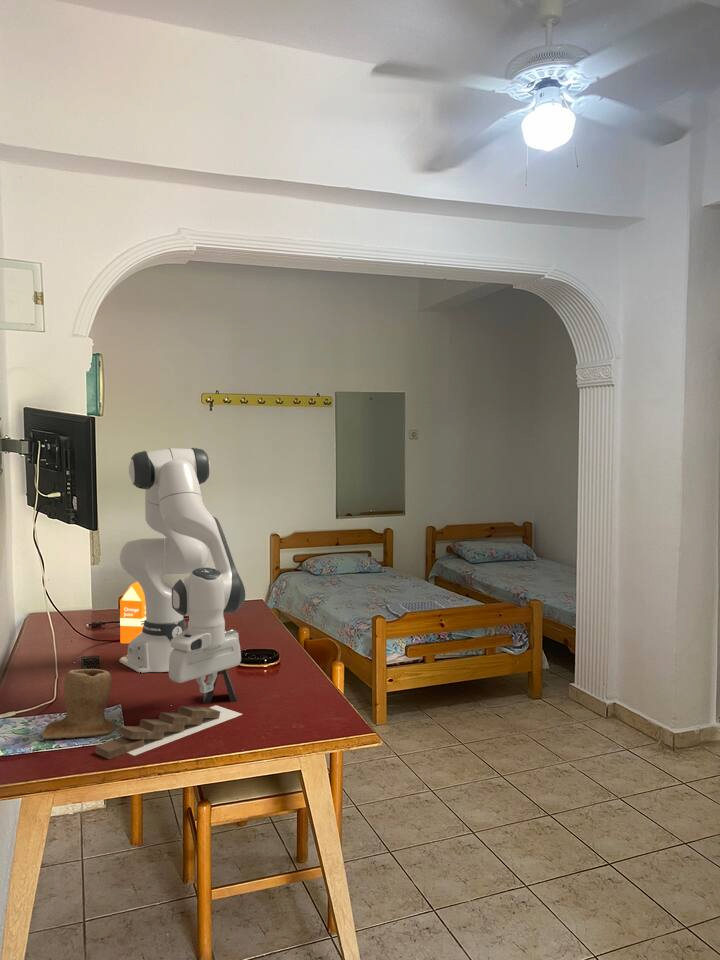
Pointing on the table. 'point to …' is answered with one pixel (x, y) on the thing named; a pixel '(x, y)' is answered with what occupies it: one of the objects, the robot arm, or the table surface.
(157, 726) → the domino
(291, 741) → the table surface
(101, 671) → the brown boot
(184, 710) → the domino
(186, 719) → the domino
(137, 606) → the orange juice
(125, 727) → the domino
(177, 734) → the board
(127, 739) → the domino
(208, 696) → the dark grey a-frame stand
